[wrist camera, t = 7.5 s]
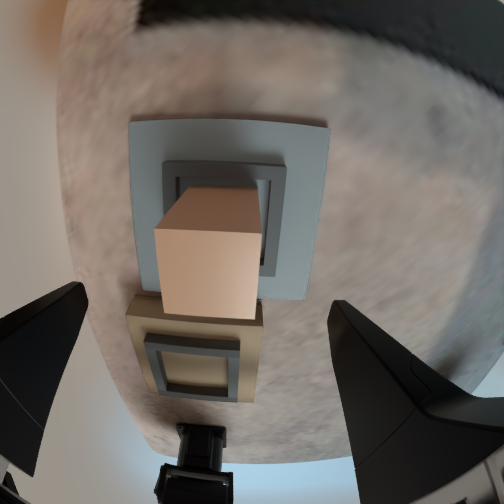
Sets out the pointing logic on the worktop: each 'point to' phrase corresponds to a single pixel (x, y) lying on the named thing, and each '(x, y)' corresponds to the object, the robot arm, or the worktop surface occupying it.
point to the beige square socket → (195, 352)
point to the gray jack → (234, 174)
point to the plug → (210, 252)
